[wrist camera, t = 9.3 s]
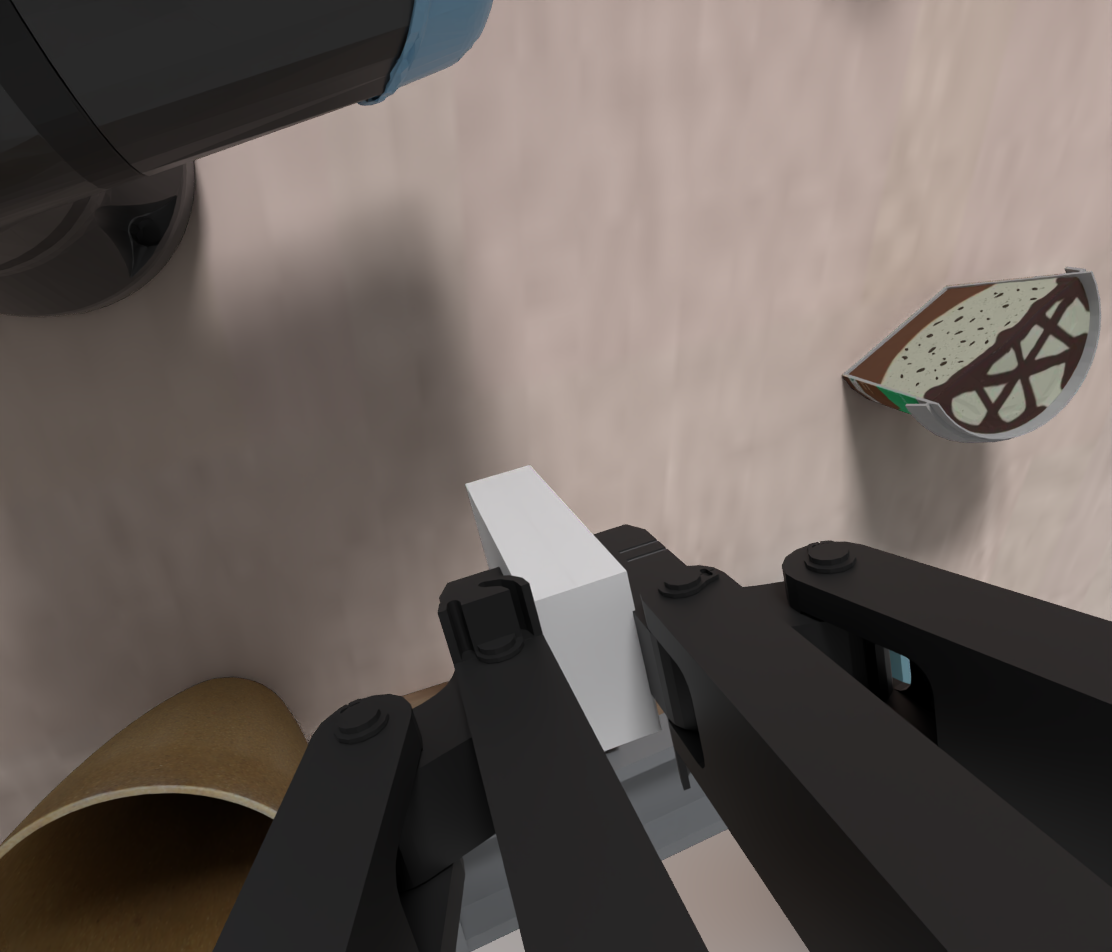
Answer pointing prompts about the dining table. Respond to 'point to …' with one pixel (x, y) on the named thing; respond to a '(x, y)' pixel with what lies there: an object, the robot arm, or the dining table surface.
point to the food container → (988, 356)
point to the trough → (654, 797)
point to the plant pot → (153, 828)
